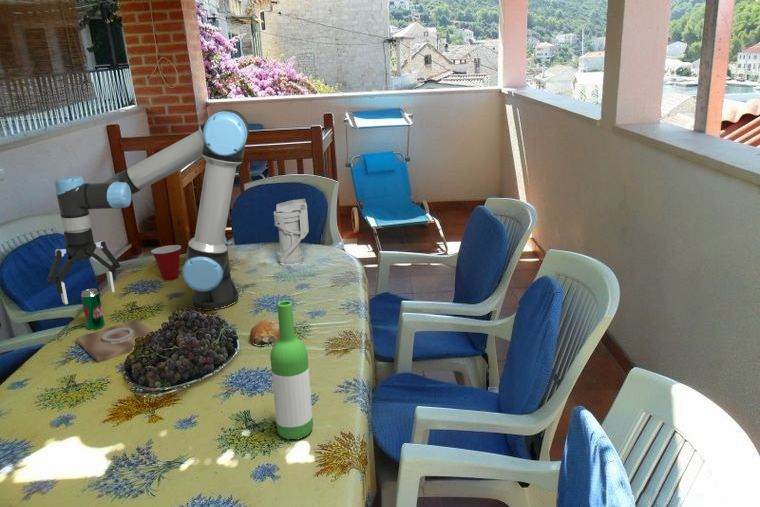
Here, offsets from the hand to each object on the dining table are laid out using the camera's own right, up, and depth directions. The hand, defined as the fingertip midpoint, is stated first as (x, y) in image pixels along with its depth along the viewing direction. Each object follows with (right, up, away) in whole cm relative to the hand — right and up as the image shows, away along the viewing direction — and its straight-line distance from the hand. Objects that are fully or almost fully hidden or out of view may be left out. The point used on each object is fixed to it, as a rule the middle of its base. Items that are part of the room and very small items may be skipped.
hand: (89, 296), depth 182 cm
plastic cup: (+9, +4, +45) cm, 46 cm away
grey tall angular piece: (+54, +10, +58) cm, 80 cm away
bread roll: (+56, -12, -9) cm, 58 cm away
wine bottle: (+70, -25, -53) cm, 91 cm away
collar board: (+12, -13, -7) cm, 19 cm away
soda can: (+1, -10, +3) cm, 10 cm away
